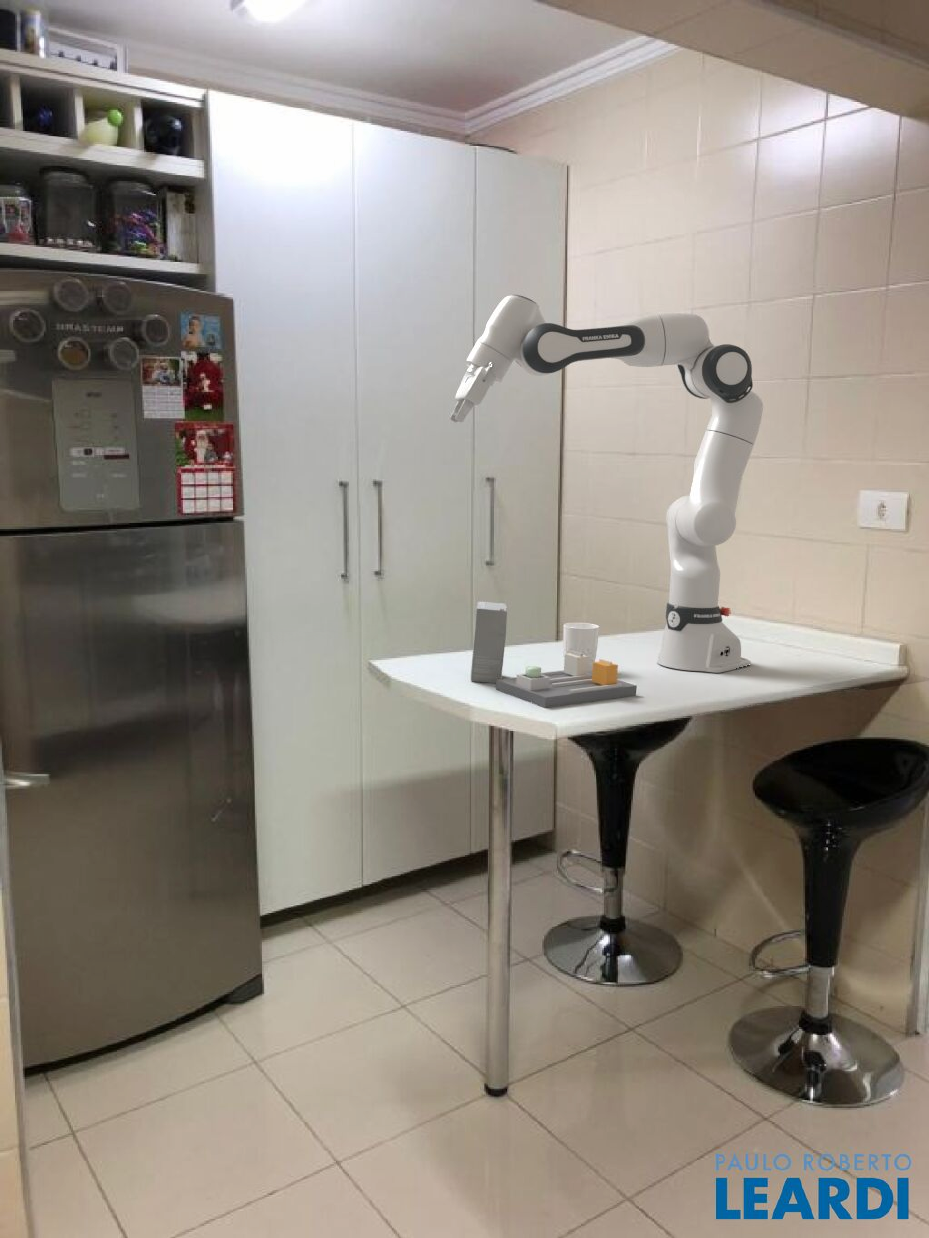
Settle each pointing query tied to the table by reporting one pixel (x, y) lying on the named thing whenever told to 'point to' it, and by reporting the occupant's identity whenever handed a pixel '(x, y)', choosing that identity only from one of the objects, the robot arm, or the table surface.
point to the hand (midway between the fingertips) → (455, 421)
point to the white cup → (581, 640)
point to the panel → (562, 689)
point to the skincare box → (489, 642)
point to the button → (533, 672)
